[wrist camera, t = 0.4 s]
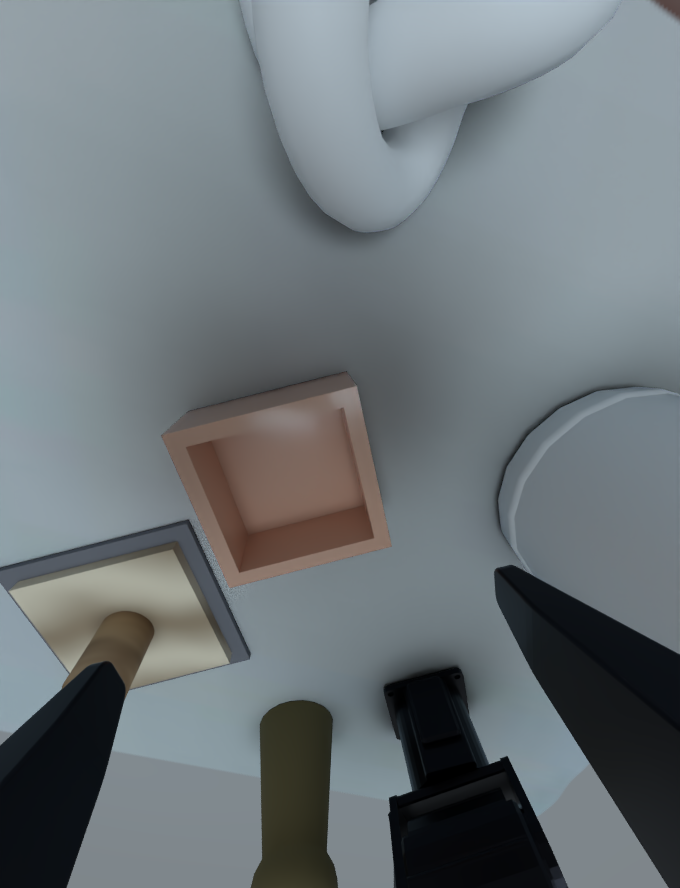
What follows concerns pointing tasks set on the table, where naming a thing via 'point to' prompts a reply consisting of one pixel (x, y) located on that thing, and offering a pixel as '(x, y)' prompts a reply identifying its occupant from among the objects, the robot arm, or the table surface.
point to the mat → (133, 544)
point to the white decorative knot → (397, 86)
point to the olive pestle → (295, 797)
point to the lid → (127, 616)
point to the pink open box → (282, 478)
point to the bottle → (604, 506)
